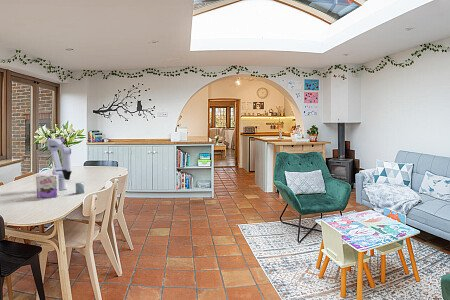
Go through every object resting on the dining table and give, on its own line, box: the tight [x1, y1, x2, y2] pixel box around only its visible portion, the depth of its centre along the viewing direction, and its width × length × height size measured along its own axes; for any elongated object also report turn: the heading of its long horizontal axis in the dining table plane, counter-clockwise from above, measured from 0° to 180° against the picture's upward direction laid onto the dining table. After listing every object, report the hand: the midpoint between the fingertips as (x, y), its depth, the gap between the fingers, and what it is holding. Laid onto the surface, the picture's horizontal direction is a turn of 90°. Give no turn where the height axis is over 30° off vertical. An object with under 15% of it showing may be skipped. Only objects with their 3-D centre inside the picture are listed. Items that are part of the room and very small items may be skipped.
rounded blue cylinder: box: [75, 182, 85, 195], centre depth 245 cm, size 6×6×8 cm
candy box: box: [35, 174, 60, 199], centre depth 232 cm, size 14×6×16 cm, turn 101°
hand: (67, 179), depth 247 cm, fingers open, 4 cm apart
